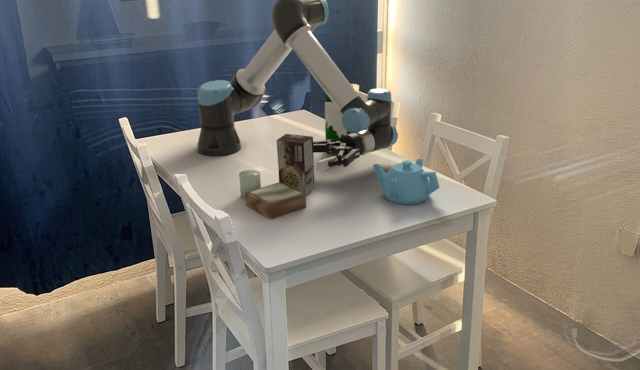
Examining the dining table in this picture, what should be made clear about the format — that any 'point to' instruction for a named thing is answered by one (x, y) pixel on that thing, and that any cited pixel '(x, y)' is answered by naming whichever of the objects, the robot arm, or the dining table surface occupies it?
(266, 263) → the dining table surface
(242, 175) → the sage rounded cylinder
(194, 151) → the dining table surface
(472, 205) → the dining table surface
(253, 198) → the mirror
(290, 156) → the coffee box
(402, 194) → the teapot
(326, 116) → the milk carton
